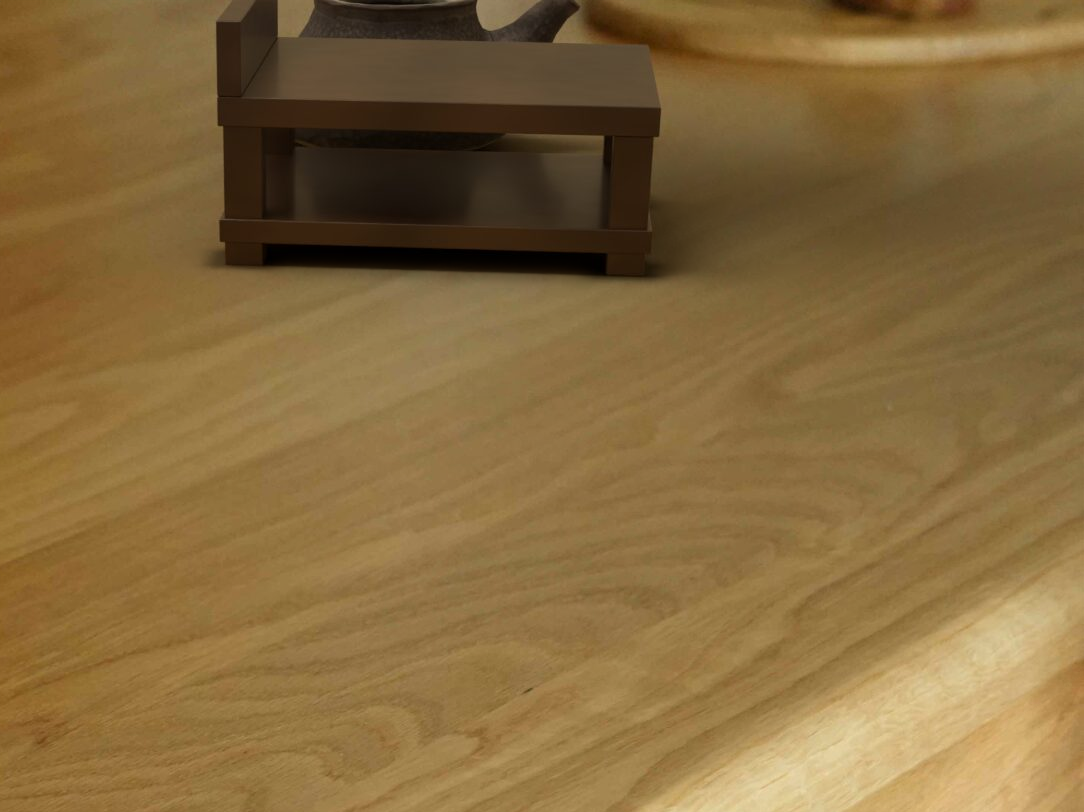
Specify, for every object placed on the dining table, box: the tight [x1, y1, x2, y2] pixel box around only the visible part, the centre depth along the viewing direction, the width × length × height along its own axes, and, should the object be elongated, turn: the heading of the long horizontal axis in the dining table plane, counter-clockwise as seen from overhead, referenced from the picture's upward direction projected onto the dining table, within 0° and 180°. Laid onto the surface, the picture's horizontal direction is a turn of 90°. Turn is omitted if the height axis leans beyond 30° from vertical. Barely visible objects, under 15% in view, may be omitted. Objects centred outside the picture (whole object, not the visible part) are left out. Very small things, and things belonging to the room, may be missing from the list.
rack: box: [215, 0, 662, 277], centre depth 99 cm, size 18×14×10 cm
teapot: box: [295, 0, 581, 151], centre depth 117 cm, size 19×15×10 cm
